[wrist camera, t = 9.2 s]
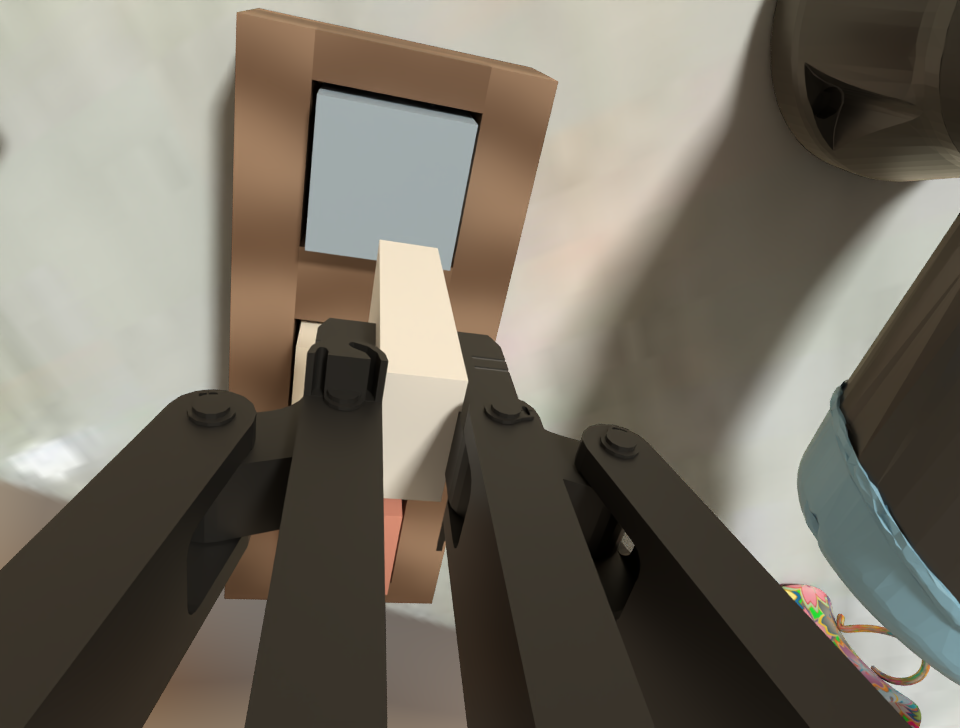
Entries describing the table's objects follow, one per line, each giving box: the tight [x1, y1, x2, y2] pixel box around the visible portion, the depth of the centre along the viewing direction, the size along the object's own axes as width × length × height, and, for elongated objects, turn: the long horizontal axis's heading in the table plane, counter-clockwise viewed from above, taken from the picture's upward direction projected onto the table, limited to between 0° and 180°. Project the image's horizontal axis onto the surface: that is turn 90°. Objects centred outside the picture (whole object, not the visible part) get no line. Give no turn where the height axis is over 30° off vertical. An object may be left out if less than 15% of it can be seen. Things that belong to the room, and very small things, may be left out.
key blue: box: [305, 82, 478, 271], centre depth 27 cm, size 6×6×4 cm
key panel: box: [224, 8, 558, 604], centre depth 33 cm, size 30×12×5 cm, turn 168°
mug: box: [782, 585, 930, 728], centre depth 48 cm, size 12×9×11 cm
